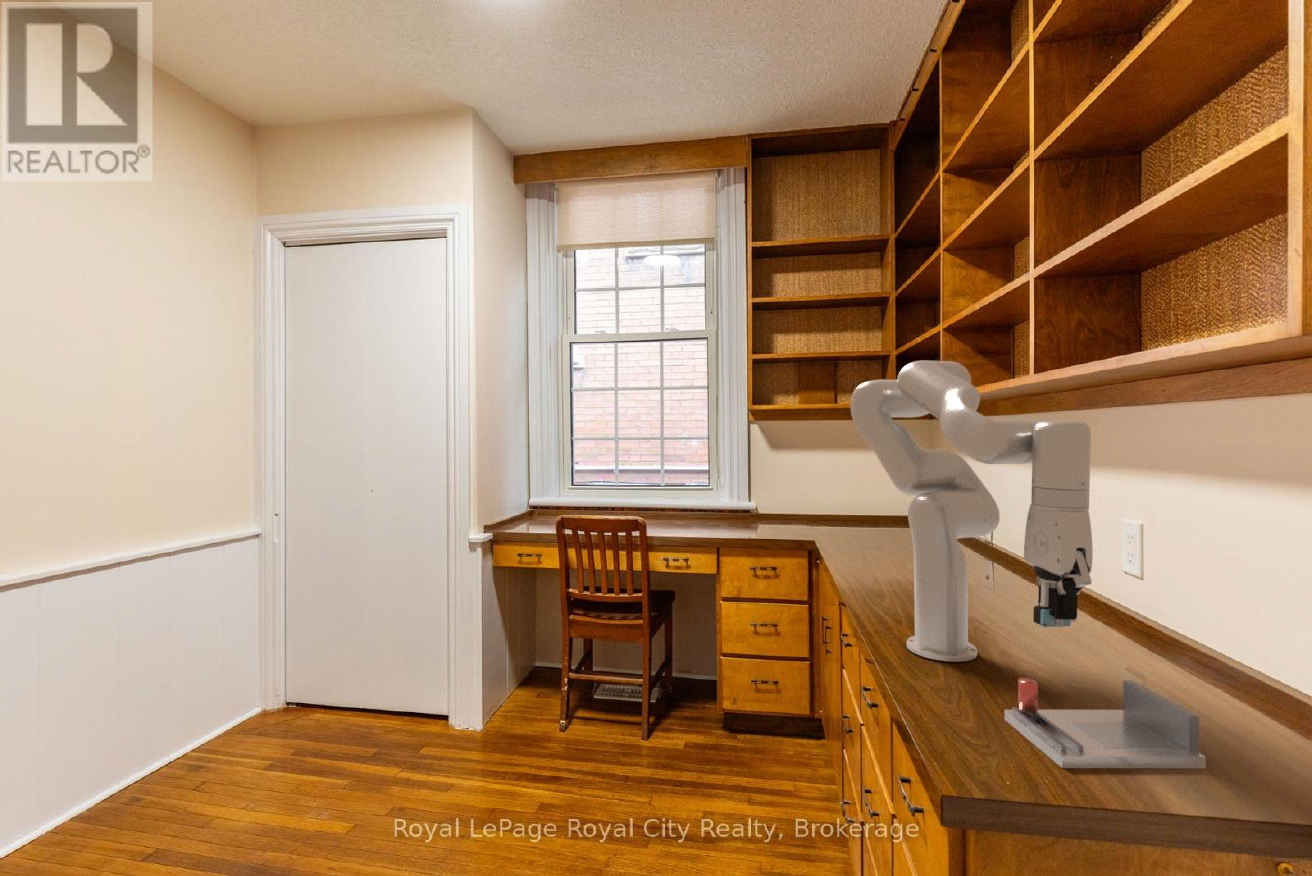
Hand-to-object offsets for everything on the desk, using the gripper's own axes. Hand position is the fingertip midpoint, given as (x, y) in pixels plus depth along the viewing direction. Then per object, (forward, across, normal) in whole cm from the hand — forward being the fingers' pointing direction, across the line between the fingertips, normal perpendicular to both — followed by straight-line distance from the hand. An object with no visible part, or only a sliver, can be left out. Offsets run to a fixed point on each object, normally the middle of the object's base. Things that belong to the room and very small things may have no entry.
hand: (1057, 613), depth 94 cm
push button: (+2, 0, 0) cm, 2 cm away
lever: (+12, +8, -9) cm, 17 cm away
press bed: (+14, +12, -2) cm, 19 cm away
